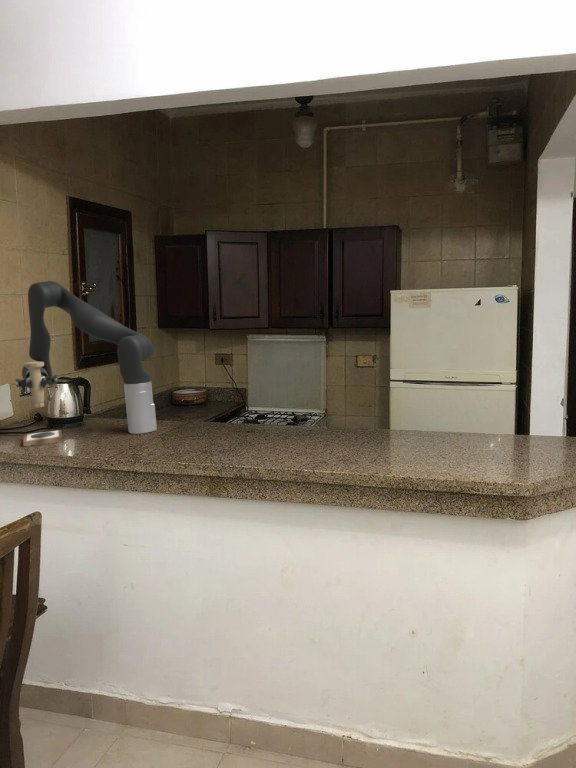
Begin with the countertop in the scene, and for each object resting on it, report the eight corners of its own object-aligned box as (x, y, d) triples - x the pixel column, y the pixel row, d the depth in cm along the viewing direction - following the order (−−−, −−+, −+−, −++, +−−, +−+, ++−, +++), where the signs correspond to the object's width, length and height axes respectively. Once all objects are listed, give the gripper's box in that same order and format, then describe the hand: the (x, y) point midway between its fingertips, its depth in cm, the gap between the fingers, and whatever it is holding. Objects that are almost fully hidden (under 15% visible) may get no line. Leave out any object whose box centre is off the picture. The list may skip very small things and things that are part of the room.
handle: (41, 408, 196) (35, 363, 193) (26, 408, 198) (20, 363, 196) (52, 405, 200) (46, 361, 198) (37, 405, 203) (32, 361, 200)
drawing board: (61, 434, 209) (61, 429, 208) (62, 441, 198) (62, 436, 197) (24, 439, 204) (24, 433, 204) (23, 446, 193) (22, 441, 193)
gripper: (13, 369, 208) (11, 375, 192) (56, 365, 213) (58, 371, 197) (16, 390, 209) (14, 398, 193) (59, 386, 214) (60, 393, 198)
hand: (36, 384), depth 195 cm, fingers closed on handle, 3 cm apart
